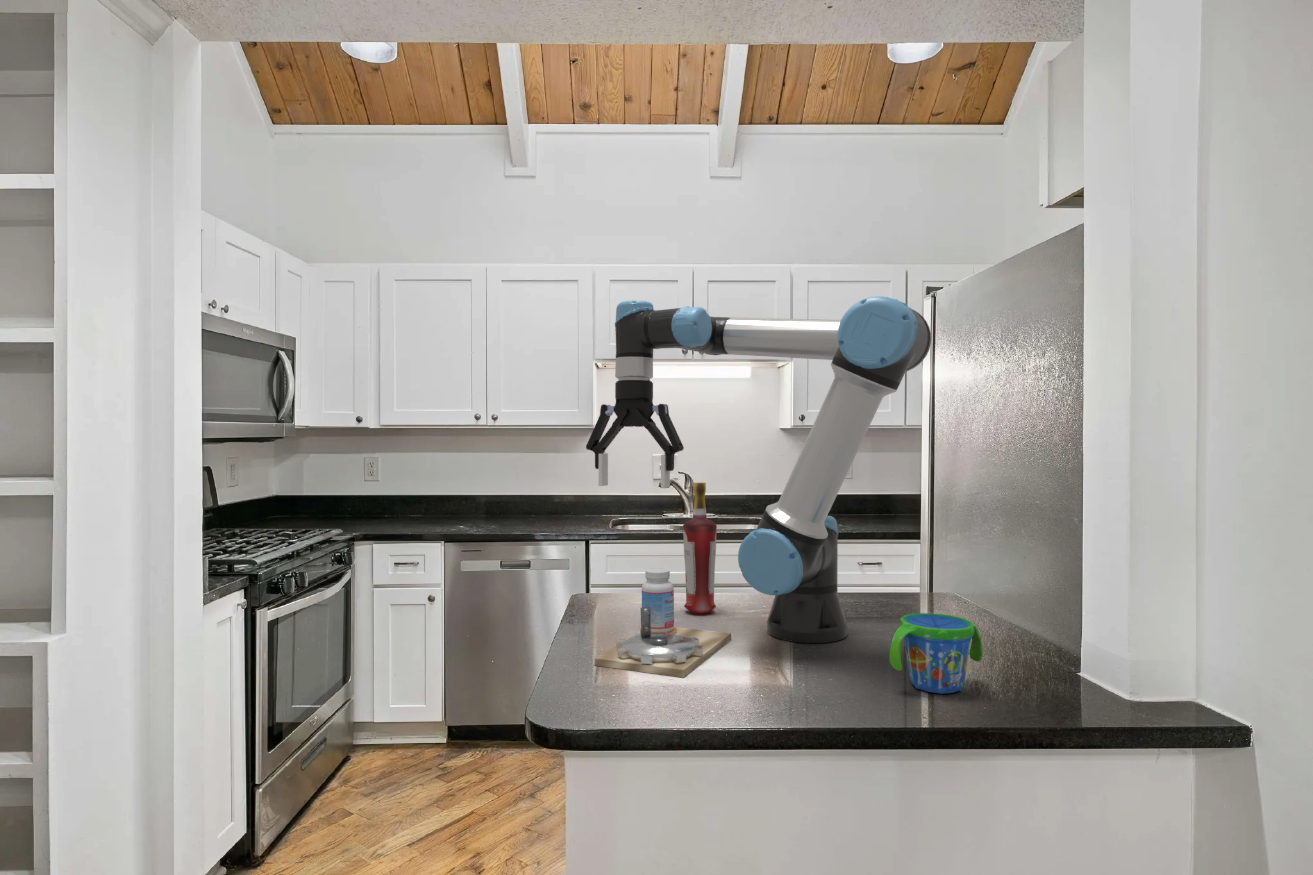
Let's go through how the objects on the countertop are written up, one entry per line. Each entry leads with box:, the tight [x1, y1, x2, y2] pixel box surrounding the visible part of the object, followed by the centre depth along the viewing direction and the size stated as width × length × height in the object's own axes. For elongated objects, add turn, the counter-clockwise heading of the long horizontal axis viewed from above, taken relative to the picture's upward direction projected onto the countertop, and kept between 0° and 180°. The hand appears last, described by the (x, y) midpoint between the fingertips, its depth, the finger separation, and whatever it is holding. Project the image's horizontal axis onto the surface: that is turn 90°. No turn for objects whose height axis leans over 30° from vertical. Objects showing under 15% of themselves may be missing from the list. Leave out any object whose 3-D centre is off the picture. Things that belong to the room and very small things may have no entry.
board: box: [594, 626, 732, 678], centre depth 133 cm, size 16×24×1 cm, turn 156°
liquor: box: [682, 481, 718, 616], centre depth 163 cm, size 7×7×28 cm
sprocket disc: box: [615, 606, 703, 664], centre depth 129 cm, size 15×15×6 cm
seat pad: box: [639, 627, 677, 634], centre depth 142 cm, size 7×7×1 cm
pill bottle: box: [641, 568, 675, 633], centre depth 142 cm, size 6×6×11 cm
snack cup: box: [888, 612, 984, 695], centre depth 114 cm, size 16×10×10 cm
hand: (633, 486), depth 150 cm, fingers open, 13 cm apart
